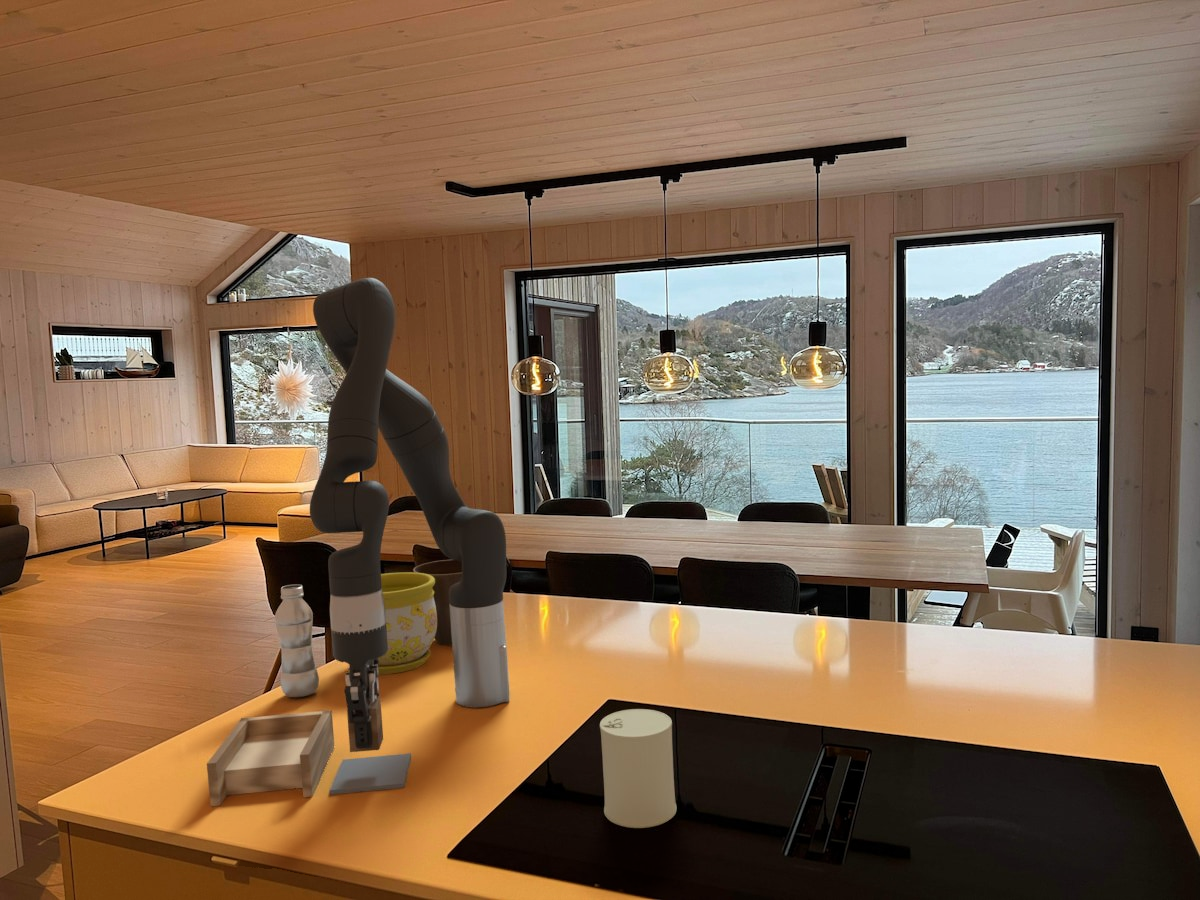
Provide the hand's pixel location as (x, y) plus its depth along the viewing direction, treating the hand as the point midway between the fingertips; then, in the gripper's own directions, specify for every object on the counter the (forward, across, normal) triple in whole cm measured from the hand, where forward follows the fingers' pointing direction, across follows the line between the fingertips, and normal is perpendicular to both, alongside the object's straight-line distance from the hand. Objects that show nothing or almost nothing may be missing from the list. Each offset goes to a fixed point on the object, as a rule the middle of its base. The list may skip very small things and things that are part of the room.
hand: (367, 740), depth 129 cm
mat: (+5, 0, 0) cm, 5 cm away
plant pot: (+5, +64, -8) cm, 65 cm away
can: (+5, -18, -37) cm, 41 cm away
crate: (+5, +3, +14) cm, 15 cm away
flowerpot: (+5, +51, +3) cm, 51 cm away
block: (+1, 0, 0) cm, 1 cm away
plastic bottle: (+5, +37, +18) cm, 41 cm away
